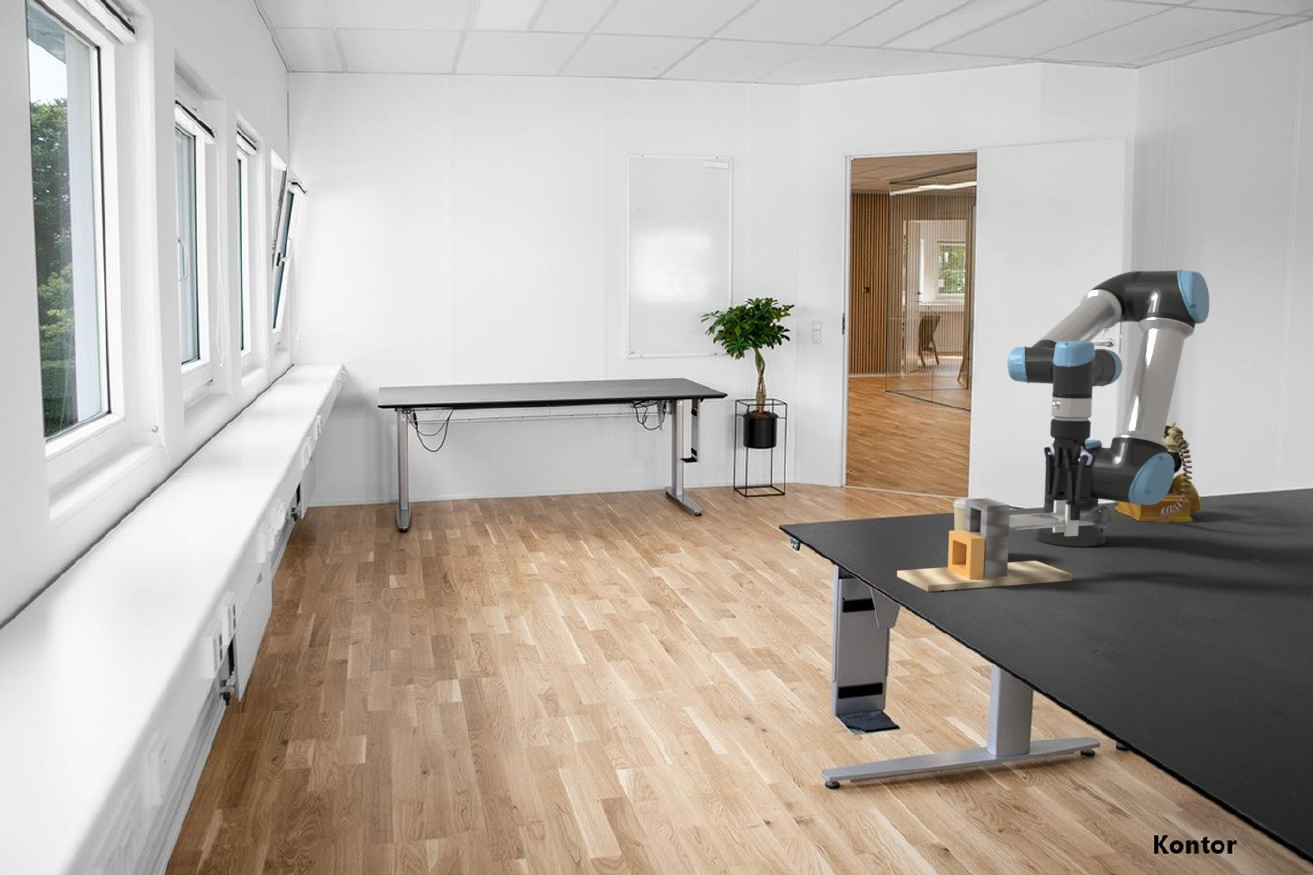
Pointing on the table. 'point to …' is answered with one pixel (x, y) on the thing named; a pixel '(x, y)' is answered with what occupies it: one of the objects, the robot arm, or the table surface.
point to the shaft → (1060, 519)
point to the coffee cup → (960, 513)
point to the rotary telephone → (1181, 491)
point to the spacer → (966, 554)
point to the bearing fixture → (986, 555)
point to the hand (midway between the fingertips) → (1065, 533)
